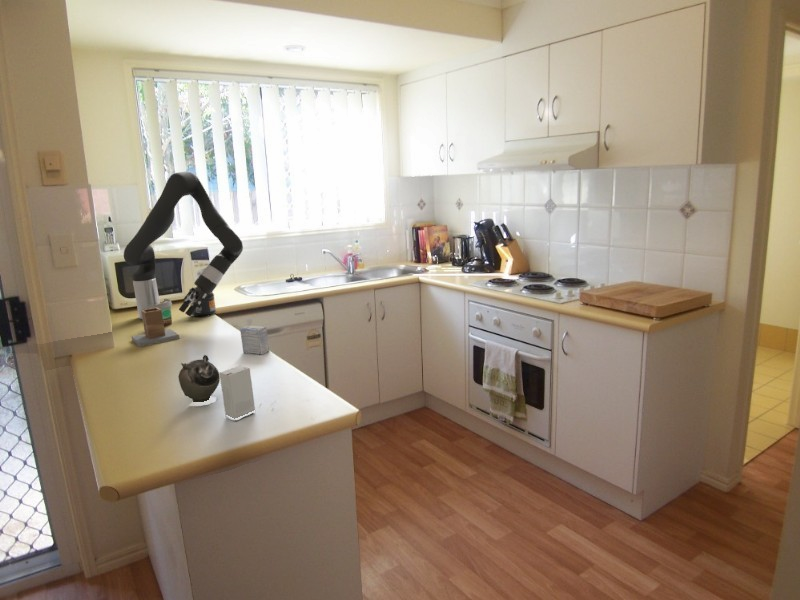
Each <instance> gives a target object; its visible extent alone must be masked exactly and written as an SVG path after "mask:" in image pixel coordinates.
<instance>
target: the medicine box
mask: <svg viewBox="0 0 800 600" xmlns="http://www.w3.org/2000/svg"><path fill="white" fill-rule="evenodd" d="M239 329H240V336H241V337H240V338H241V346H242V352H247V353H246V354H250V353H257V354H256V355H259V354H262V355H264V354H266V353H268V352H270V344H269V336H268V329H267V327H266V326H260V325H245V326H243V327H242V328H239ZM267 351H268V352H267Z"/></svg>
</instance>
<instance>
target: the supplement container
mask: <svg viewBox="0 0 800 600" xmlns="http://www.w3.org/2000/svg"><path fill="white" fill-rule="evenodd" d="M196 287H197V286H196ZM196 287H194V288H196ZM190 290H191V288H189V291H190ZM189 291H188V292H189ZM206 294H207V295H208V297H207V299H206V300H205V301H204V303H203V304H202V306H201V307H200V308H197V309H196V310H195V311H194V312H193V314H192V315H191V316H193V317H195V318H204V317H209V316H213V315H215V314H216V312H217V309H216V301H215V294H214V293H213V292H212V293H211V294H208V293H207V292H206ZM191 304H192V303H191ZM191 304H190V305H189V307H190V306H192V305H191ZM199 305H200V304H199Z"/></svg>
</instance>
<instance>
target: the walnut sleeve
mask: <svg viewBox="0 0 800 600" xmlns="http://www.w3.org/2000/svg"><path fill="white" fill-rule="evenodd" d="M141 312H142V318H143V319H142V324H143V330H144V334H145V336H146V337H148V338H149V339H150V338H155V337H160V336H165V330H166V329H165V327H164V323H163V317H162V311H161V309H159V308H158V307H157V308H151V309H145V310H141Z"/></svg>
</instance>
